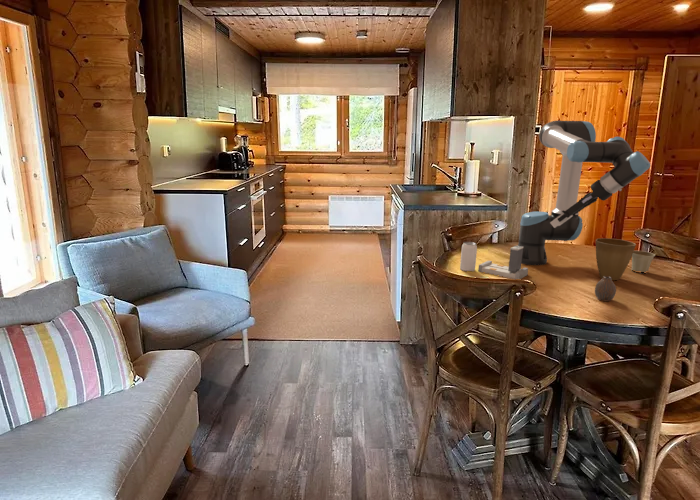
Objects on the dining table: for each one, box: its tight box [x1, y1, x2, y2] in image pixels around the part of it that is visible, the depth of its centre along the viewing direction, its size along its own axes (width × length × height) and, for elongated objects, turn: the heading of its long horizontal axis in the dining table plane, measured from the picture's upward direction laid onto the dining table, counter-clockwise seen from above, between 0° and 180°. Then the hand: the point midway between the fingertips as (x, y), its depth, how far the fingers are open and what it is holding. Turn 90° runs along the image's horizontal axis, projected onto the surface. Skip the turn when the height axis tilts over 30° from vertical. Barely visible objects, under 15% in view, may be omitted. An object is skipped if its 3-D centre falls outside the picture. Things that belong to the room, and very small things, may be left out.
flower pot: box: [631, 250, 656, 272], centre depth 219 cm, size 9×9×9 cm
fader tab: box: [508, 245, 523, 272], centre depth 208 cm, size 3×6×12 cm, turn 140°
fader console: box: [477, 260, 529, 280], centre depth 212 cm, size 18×10×3 cm, turn 51°
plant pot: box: [595, 237, 637, 281], centre depth 207 cm, size 15×15×16 cm
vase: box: [594, 276, 617, 302], centre depth 181 cm, size 7×7×9 cm
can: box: [459, 241, 478, 272], centre depth 215 cm, size 6×6×12 cm
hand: (554, 224), depth 195 cm, fingers open, 5 cm apart
